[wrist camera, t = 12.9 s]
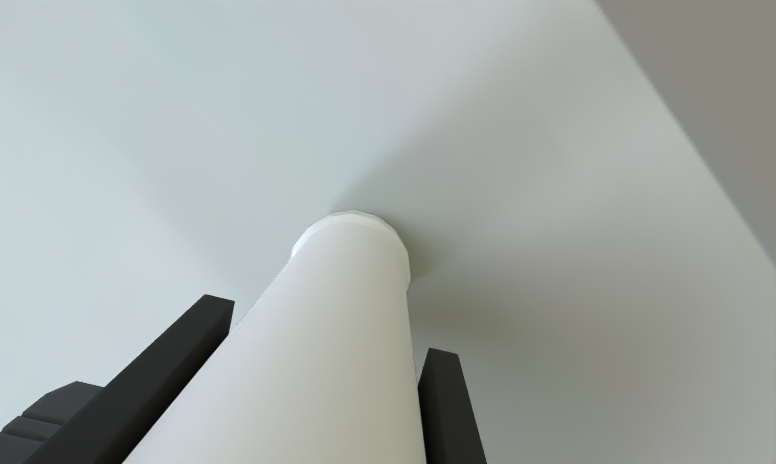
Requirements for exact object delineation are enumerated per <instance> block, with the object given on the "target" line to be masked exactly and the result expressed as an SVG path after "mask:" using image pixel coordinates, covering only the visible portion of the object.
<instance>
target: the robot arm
mask: <svg viewBox="0 0 776 464" xmlns="http://www.w3.org/2000/svg"><path fill="white" fill-rule="evenodd" d="M234 303H235V301H232V300H228V299H223V298H219V297H215V296H211V295H207V294H205V295H204V296H202V297H201V298H200V299H199V300H198V301H197V302H196V303H195V304H194V305H193V306H192V307H191V308H190V309H188V310H187V311H186V312H185V313H184V314H183V315H182V316H181V317H180V318H179V319H178V320H177V321H175V322H174V323H173V324H172V325H171V326H170V327H169V328H168V329H167V330H166V331H165V332H164V333H163V334H161V335H160V336H159V337H158V338H157V339H156V340H155V341H154V342H153V343H152V344H151V345H150V346H148V347H147V348H146V349H145V350H144V351H143V352H142V353H141V354H140V355H139V356H138V357H137V358H136V359H134V360H133V361H132V362H131V363H130V364H129V365H128V366H127V367H126V368H125V369H124V370H123V371H121V372H120V373H119V374H118V375H117V376H116V377H115V378H114V379H113V380H112V381H111V382H110V383H109V384H107V385H106V386H105V387H100V386H96V385H91V384H87V383H83V382H78V381H75V382H73V383H71V384H68V385H66V386H64V387H61V388H59V389H56V390H54V391H52V392H49V393H47V394H45V395H44V396H43V397H42V398H40V399H39V400H38V401H36V402H35V403H34V404H33V405H31V406H30V407H29V408H28V409H26V410H25V411H24V412H23V414H22V415H21V416H17V417H16V418H15V419H14V420H12V421H11V422H10V423H9V424H7V425H6V426H5V427H4V428H3V430H2V431H1V432H0V464H122V463H123V462H124V461H125V460H126V458H127V457H128V456H129V455H130V454H131V452H132V451H133V450H134V449H135V448H136V446H137V445H138V444H139V443H140V441H141V440H142V439H143V438H144V437H145V435H146V434H147V433H148V432H149V431H150V429H151V428H152V427H153V426H154V425H155V423H156V422H157V421H158V420H159V418H160V417H161V416H162V415H163V414H164V412H165V411H166V410H167V409H168V408H169V406H170V405H171V404H172V403H173V402H174V400H175V399H176V398H177V397H178V395H179V394H180V393H181V392H182V391H183V389H184V388H185V387H186V386H187V385H188V383H189V382H190V381H191V380H192V378H193V377H194V376H195V375H196V374H197V372H198V371H199V370H200V369H201V368H202V366H203V365H204V364H205V363H206V362H207V360H208V359H209V358H210V357H211V355H212V354H213V353H214V352H215V351H216V349H217V348H218V347H219V346H220V345H221V343H222V342H223V341H224V340H225V339H226V337H227V336H228V335H229V330H230V324H231V319H232V314H233V308H234ZM417 388H418V397H419V405H420V413H421V421H422V430H423V438H424V446H425V454H426V463H427V464H487V462H486V458H485V455H484V451H483V447H482V443H481V439H480V436H479V432H478V428H477V424H476V421H475V417H474V413H473V409H472V406H471V402H470V398H469V394H468V391H467V387H466V383H465V379H464V376H463V372H462V368H461V364H460V361H459V357H458V354H454V353H450V352H446V351H442V350H438V349H433V348H429V350H428V353H427V357H426V360H425V363H424V367H423V370H422V374H421V377H420V380H419V384H418V387H417Z"/></svg>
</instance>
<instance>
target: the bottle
mask: <svg viewBox="0 0 776 464" xmlns="http://www.w3.org/2000/svg"><path fill="white" fill-rule="evenodd" d="M410 280H411V274H410V266H409V258H408V252H407V249H406V248H405V246H404V244H403V242H402V241H401V239H400V237H399V236H398V234H397V232H396V230H395V229H393V228H392V227H391V226H389V225H388V224H387V223H386V222H384V221H383V220H382V219H380V218H379V217H378V216H375V215H372V214H368V213H364V212H360V211H357V210H351V211H343V212H335V213H331V214H329V215H327V216H326V217H324V218H322V219H320V220H319V221H317V222H315V223H313V224H312V225H310V226H309V227H308V228H307V229H306V231H305V232H304V233H303V235H302V236H301V237H300V239H299V240H298V241H297V243H296V244H295V245H294V247H293V249H292V254H291V258H290V261H289V262H288V263H287V265H286V266H285V267H284V268H283V270H282V271H281V272H280V273H279V274H278V276H277V277H276V278H275V279H274V280H273V282H272V283H271V284H270V285H269V286H268V288H267V289H266V290H265V291H264V293H263V294H262V295H261V296H260V297H259V299H258V300H257V301H256V302H255V303H254V305H253V306H252V307H251V308H250V309H249V311H248V312H247V313H246V314H245V316H244V317H243V318H242V319H241V320H240V322H239V323H238V324H237V325H236V326H235V328H234V329H233V330H232V331H231V332H230V334H229V335H228V336H227V337H226V339H225V340H224V341H223V342H222V343H221V345H220V346H219V347H218V348H217V349H216V351H215V352H214V353H213V354H212V355H211V357H210V358H209V359H208V360H207V362H206V363H205V364H204V365H203V366H202V368H201V369H200V370H199V371H198V372H197V374H196V375H195V376H194V377H193V378H192V380H191V381H190V382H189V383H188V385H187V386H186V387H185V388H184V389H183V391H182V392H181V393H180V394H179V395H178V397H177V398H176V399H175V400H174V402H173V403H172V404H171V405H170V406H169V408H168V409H167V410H166V411H165V412H164V414H163V415H162V416H161V417H160V418H159V420H158V421H157V422H156V423H155V425H154V426H153V427H152V428H151V429H150V431H149V432H148V433H147V434H146V435H145V437H144V438H143V439H142V440H141V441H140V443H139V444H138V445H137V446H136V448H135V449H134V450H133V451H132V452H131V454H130V455H129V456H128V457H127V458H126V460H125V461H124V462H123V463H122V464H427V463H426V454H425V446H424V438H423V430H422V421H421V413H420V405H419V397H418V388H417V380H416V372H415V364H414V355H413V347H412V339H411V330H410V322H409V314H408V306H407V297H406V294H407V290H408V287H409V284H410Z"/></svg>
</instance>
